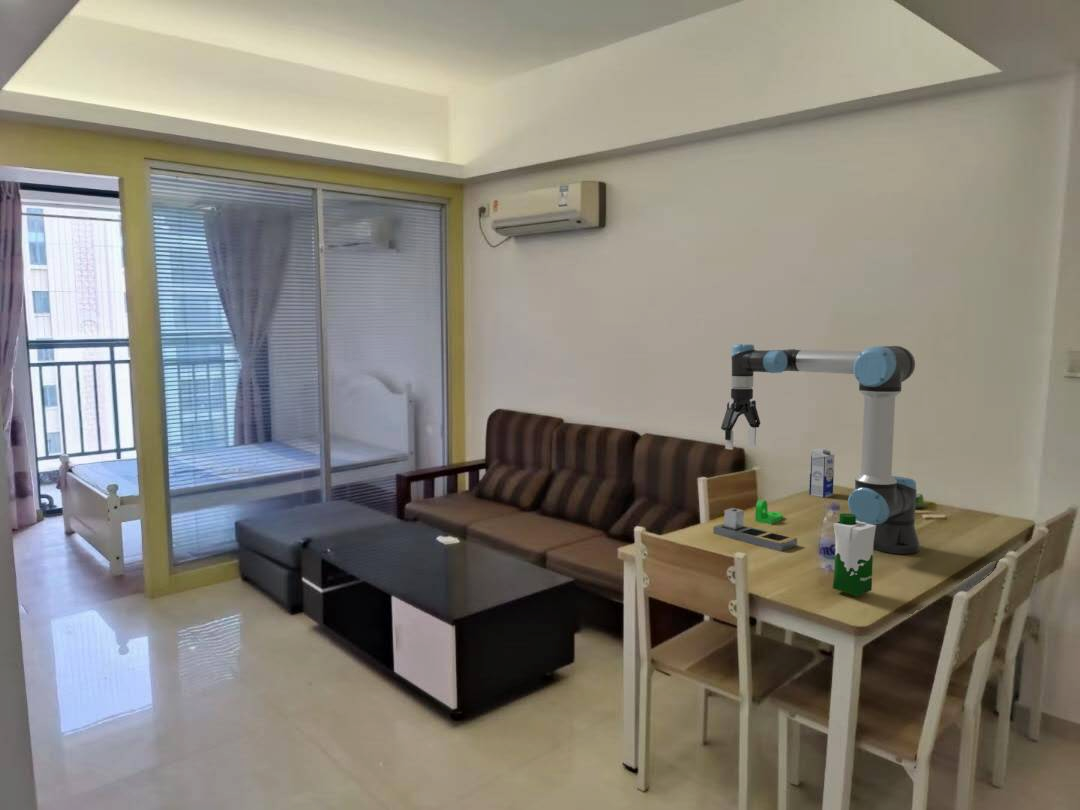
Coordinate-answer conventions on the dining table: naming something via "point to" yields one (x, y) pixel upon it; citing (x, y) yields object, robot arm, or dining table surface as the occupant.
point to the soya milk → (853, 555)
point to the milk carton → (821, 473)
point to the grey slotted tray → (758, 537)
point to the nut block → (733, 519)
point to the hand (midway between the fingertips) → (740, 447)
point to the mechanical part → (766, 513)
